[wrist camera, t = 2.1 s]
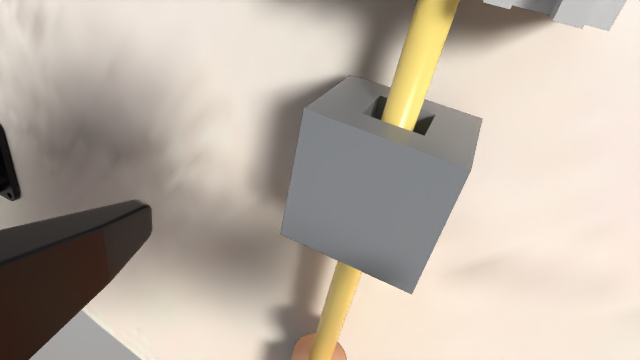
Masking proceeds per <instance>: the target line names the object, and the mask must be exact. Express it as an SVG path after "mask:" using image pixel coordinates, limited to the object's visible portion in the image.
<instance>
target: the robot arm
mask: <svg viewBox="0 0 640 360" xmlns="http://www.w3.org/2000/svg"><path fill="white" fill-rule="evenodd" d="M0 195H1V196H3V197H5V198H7V199H9V200H11V201H15V200H17V199H19V198H20V194H19V191H18V187H17V183H16V179H15V176H14V172H13V168H12V165H11V161H10V157H9V153H8V150H7V146H6V142H5V138H4V135H3V131H2V129H1V127H0ZM151 232H152V210H151V207H150V206H149V205H148V204H146V203H144V202H142V201H139V200H131V201H126V202H122V203H118V204H113V205H109V206H104V207H100V208H95V209H91V210H87V211H82V212H78V213H73V214H69V215H65V216H60V217H56V218H51V219H47V220H42V221H38V222H34V223H29V224H25V225H20V226H16V227H11V228H7V229H3V230H0V360H29V359H30V358H31V357H32V356H33V355H34V354H35V353H36V352H37V351H38V350H39V349H40V348H42V346H43V345H45V344H46V343H47V342H48V341H49V340H50V339H51V338H52V337H53V336H54V335H55V334H56V333H57V332H58V331H59V330H60V329H61V328H63V327H64V325H66V324H67V323H68V322H69V321H70V320H71V319H72V318H73V317H74V316H75V315H76V314H77V313H78V312H79V311H80V310H81V309H83V308H84V307H85V306H86V305H87V304H88V303H89V302H90V301H91V300H92V299H93V298H94V297H95V296H96V295H97V294H98V293H99V292H100V291H101V290H102V289H104V288H105V287H106V286H107V285H108V284H109V283H110V282H111V280H112V279H113V278H114V277H115V276H116V275H117V274H118V273H119V272H120V270H121V269H122V268H123V267H124V266H125V265H126V263H127V262H128V261H129V260H130V259H131V258H132V257H133V255H134V254H135V253H136V252H137V251H138V250H139V248H140V247H141V246H142V245H143V244H144V243H145V241H146V240H147V239H148V238H149V236H150V235H151Z"/></svg>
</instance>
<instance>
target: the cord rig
mask: <svg viewBox="0 0 640 360" xmlns="http://www.w3.org/2000/svg"><path fill="white" fill-rule="evenodd" d="M459 2H460V0H417V4H416V7H415V10H414V13H413V17H412V20H411V23H410V26H409V30H408V33H407V36H406V40H405V43H404V46H403V49H402V53H401V56H400V59H399V62H398V66H397V69H396V72H395V75H394V79H393V82H392V85H391V89H390V92H389V95H388V98H387V102H386V105H385V108H384V111H383V115H382V118H381V120H382V121H384V122H387V123H390V124H393V125H396V126H398V127H401V128H404V129H407V130H409V131H412V132H413V129H414V127H415V124H416V121H417V118H418V116H419V113H420V110H421V107H422V104H423V102H424V99H425V96H426V93H427V91H428V88H429V85H430V82H431V79H432V77H433V74H434V71H435V68H436V66H437V63H438V60H439V57H440V54H441V52H442V49H443V46H444V43H445V41H446V38H447V35H448V32H449V29H450V27H451V24H452V21H453V18H454V16H455V13H456V10H457V7H458V4H459ZM483 2H484V3H488V4H491V5H495V6H499V7H503V8H506V9H511V7H512V5H513V6H517V7H520V8H524V9H528V10H532V11H535V12H539V13H543V14H547V15H550V17H551V19H552V21H555V22H558V23H562V24H566V25H570V26H573V27H577V28H581V29H582V28H583V26H584V25H588V26H592V27H596V28H599V29H603V30H607V31H609V30H610V28H611V27H612V25H613V23H614V21H615V20H616V18H617V16H618V14H619V13H620V11H621V9H622V7H623V6H624V4H625V2H626V0H484V1H483ZM361 274H362V271H360V270H357V269H355V268H353V267H351V266H349V265H346V264H344V263H342V262H340V261H338V262H337V265H336V268H335V272H334V275H333V278H332V281H331V285H330V288H329V291H328V294H327V298H326V301H325V304H324V308H323V311H322V314H321V317H320V321H319V324H318V327H317V330H316V333H311V334H307V335H305V336H303V337H302V338H300V339H299V340H298V341H297V343H296V344H295V346H294V348H293V352H292V356H291V359H290V360H347V359H346V354H345V351H344V349H343V348H342V346H341V345H340V344H339V343H338V342H337V340H338V338H339V335H340V332H341V329H342V327H343V324H344V321H345V318H346V315H347V313H348V310H349V307H350V304H351V302H352V299H353V296H354V293H355V290H356V288H357V285H358V282H359V279H360V277H361Z"/></svg>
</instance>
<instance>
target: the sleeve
mask: <svg viewBox="0 0 640 360" xmlns="http://www.w3.org/2000/svg"><path fill="white" fill-rule="evenodd" d="M390 89H391V88H389V87H386V86H383V85H380V84H378V83H375V82H372V81H369V80H366V79H363V78H360V77H357V76H354V75H350V76H348V77H347V78H346V79H344V80H343V81H341V82H340V83H339V84H337V85H336V86H334V87H333V88H332V89H330V90H329V91H328V92H326V93H325V94H323V95H322V96H321V97H319V98H318V99H316V100H315V101H314V102H312V103H311V104H309V105H308V106H307V107H305V108H304V110H303V116H302V121H301V126H300V132H299V137H298V142H297V148H296V153H295V158H294V164H293V169H292V174H291V180H290V185H289V191H288V196H287V201H286V207H285V212H284V217H283V223H282V228H281V233H280V234H281V235H283V236H285V237H287V238H290V239H292V240H294V241H296V242H298V243H300V244H303V245H305V246H307V247H309V248H311V249H314V250H316V251H318V252H320V253H322V254H325V255H327V256H329V257H331V258H333V259H335V260H338V261H340V262H342V263H344V264H346V265H349V266H351V267H353V268H355V269H357V270H360V271H362V272H364V273H366V274H368V275H370V276H373V277H375V278H377V279H379V280H381V281H384V282H386V283H388V284H390V285H392V286H395V287H397V288H399V289H401V290H403V291H405V292H408V293H410V294H412V293H413V291H414V289H415V287H416V284H417V282H418V280H419V278H420V276H421V274H422V272H423V270H424V268H425V266H426V263H427V261H428V259H429V257H430V255H431V253H432V251H433V249H434V247H435V245H436V243H437V240H438V238H439V236H440V234H441V232H442V230H443V228H444V226H445V224H446V222H447V219H448V217H449V215H450V213H451V211H452V209H453V207H454V205H455V203H456V201H457V199H458V196H459V194H460V192H461V190H462V188H463V186H464V184H465V182H466V180H467V178H468V176H469V173H470V171H471V168H472V164H473V159H474V155H475V150H476V145H477V141H478V136H479V132H480V127H481V123H482V118H479V117H476V116H473V115H470V114H467V113H464V112H461V111H458V110H455V109H452V108H449V107H446V106H443V105H440V104H437V103H434V102H431V101H428V100H425V99H424V102H423V104H422V107H421V110H420V113H419V116H418V118H417V121H416V124H415V127H414V129H413V132H412V131H409V130H407V129H404V128H401V127H398V126H396V125H393V124H390V123H387V122H384V121H382V120H381V118H382V115H383V111H384V108H385V105H386V102H387V98H388V95H389V92H390Z"/></svg>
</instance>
